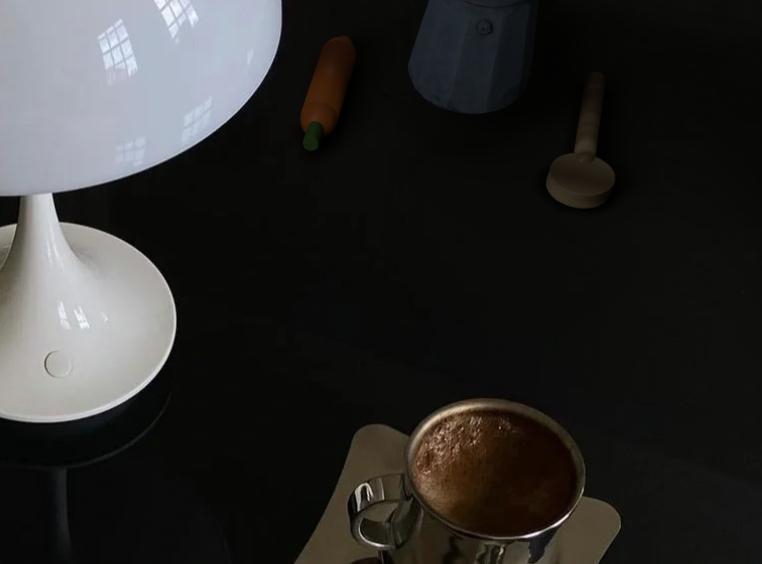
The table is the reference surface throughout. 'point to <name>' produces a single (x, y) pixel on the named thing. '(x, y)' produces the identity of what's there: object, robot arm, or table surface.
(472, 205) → the table surface
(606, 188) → the spoon
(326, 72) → the carrot
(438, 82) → the moka pot
